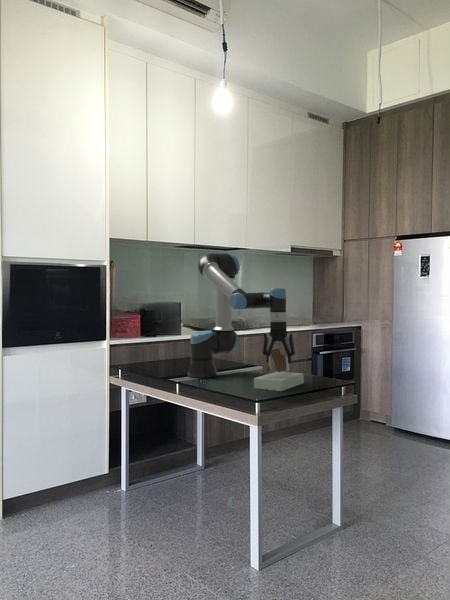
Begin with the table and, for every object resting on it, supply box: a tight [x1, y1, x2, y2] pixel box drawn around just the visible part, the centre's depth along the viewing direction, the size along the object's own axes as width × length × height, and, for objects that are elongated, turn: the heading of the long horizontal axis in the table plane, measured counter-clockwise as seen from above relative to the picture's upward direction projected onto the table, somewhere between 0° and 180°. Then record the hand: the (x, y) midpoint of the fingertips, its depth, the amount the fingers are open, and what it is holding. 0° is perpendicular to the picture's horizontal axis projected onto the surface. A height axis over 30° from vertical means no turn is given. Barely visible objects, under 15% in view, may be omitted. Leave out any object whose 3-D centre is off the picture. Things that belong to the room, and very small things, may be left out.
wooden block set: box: [261, 348, 286, 374], centre depth 233 cm, size 18×9×10 cm, turn 146°
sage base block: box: [253, 370, 305, 392], centre depth 232 cm, size 14×22×5 cm, turn 144°
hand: (279, 370), depth 232 cm, fingers closed on wooden block set, 8 cm apart
